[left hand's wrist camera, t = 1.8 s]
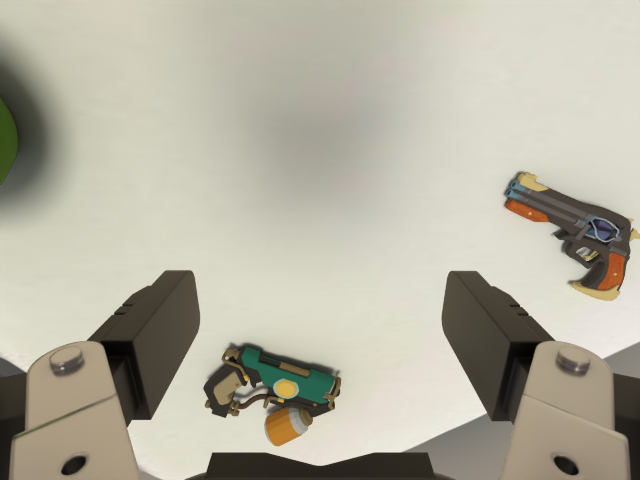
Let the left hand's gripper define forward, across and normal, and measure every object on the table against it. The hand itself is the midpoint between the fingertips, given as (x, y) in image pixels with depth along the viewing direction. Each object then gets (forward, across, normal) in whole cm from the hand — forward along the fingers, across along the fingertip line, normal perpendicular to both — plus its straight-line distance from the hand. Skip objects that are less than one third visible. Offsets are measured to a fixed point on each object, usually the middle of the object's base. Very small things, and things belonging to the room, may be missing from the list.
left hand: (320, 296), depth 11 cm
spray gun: (+29, +7, +31) cm, 43 cm away
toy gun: (+29, -29, +9) cm, 42 cm away
